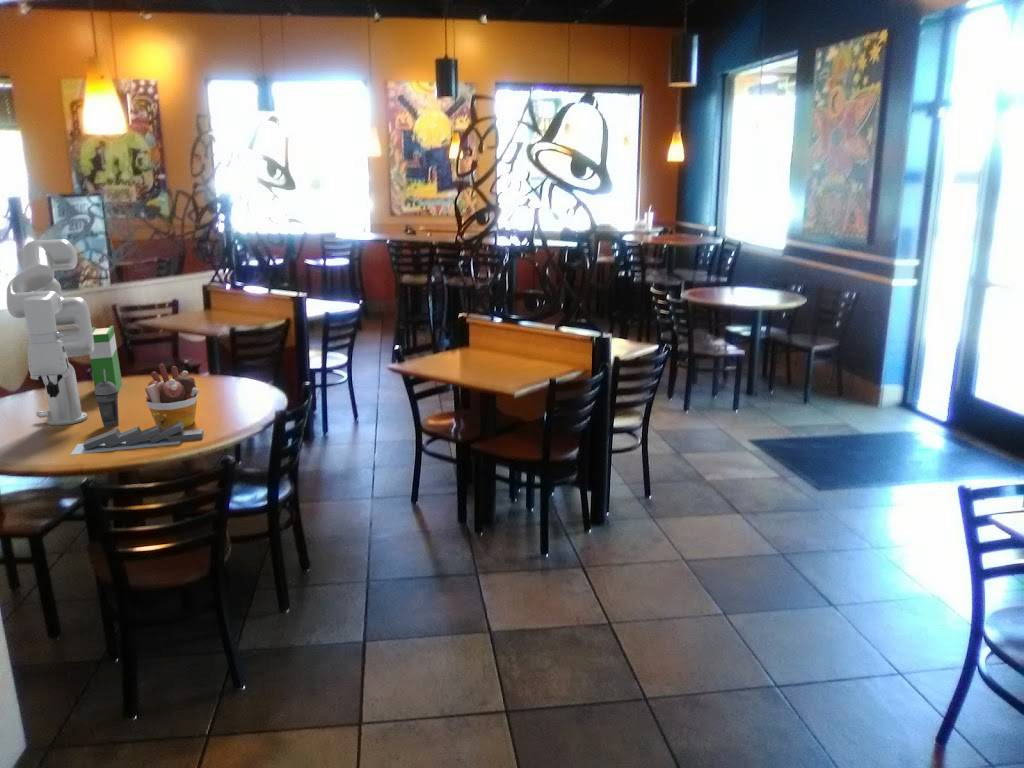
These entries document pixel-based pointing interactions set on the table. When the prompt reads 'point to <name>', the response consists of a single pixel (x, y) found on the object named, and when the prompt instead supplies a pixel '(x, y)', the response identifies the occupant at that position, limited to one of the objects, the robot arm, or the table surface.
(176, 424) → the domino
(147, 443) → the mat
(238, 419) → the table surface
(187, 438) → the domino
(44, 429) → the table surface
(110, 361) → the green tall box
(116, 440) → the domino
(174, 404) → the bucket of meat
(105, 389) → the beverage cup
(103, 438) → the domino
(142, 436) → the domino
